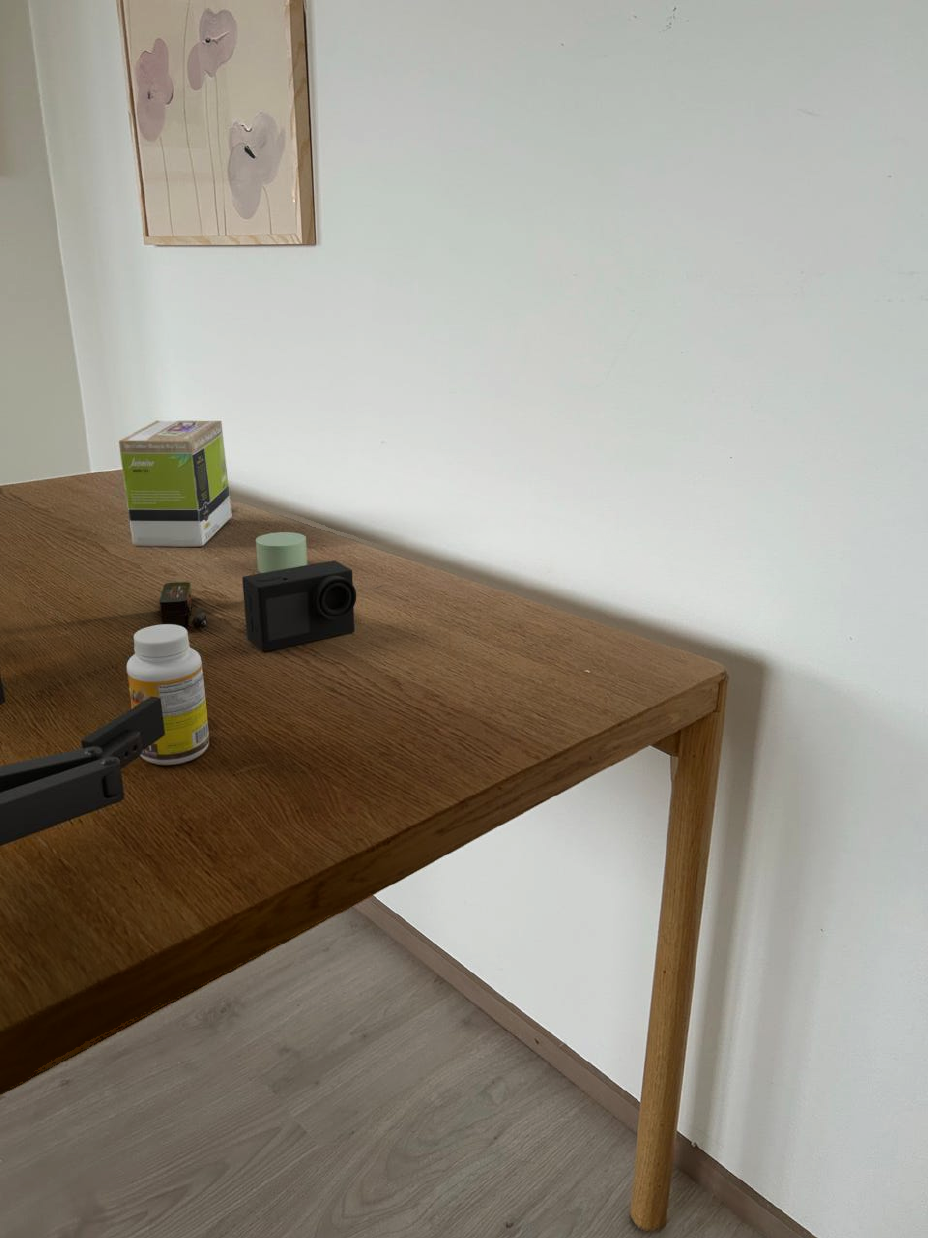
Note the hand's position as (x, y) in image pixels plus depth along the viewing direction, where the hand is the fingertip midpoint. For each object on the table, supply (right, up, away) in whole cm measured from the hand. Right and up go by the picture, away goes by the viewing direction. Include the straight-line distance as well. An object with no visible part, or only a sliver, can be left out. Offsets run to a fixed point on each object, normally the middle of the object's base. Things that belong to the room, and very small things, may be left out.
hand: (76, 699), depth 65 cm
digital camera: (+10, +3, +34) cm, 36 cm away
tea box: (-13, +18, +71) cm, 74 cm away
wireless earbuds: (-4, +5, +38) cm, 38 cm away
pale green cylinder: (+4, +11, +52) cm, 53 cm away
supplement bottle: (+3, -5, +11) cm, 13 cm away
